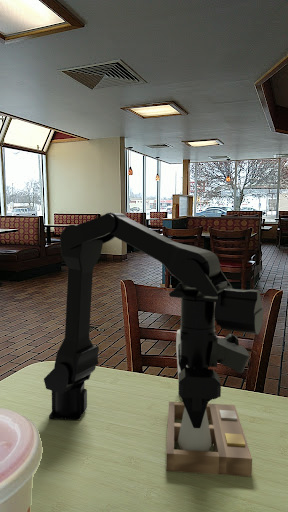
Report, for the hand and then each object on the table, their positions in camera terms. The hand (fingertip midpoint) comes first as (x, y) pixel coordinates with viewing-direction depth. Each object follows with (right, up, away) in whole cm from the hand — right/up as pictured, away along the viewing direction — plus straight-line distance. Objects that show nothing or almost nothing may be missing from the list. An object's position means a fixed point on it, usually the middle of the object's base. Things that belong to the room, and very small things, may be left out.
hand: (195, 413), depth 65 cm
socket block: (+2, -7, +5) cm, 9 cm away
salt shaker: (0, -8, +1) cm, 8 cm away
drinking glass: (+2, -6, +25) cm, 25 cm away
